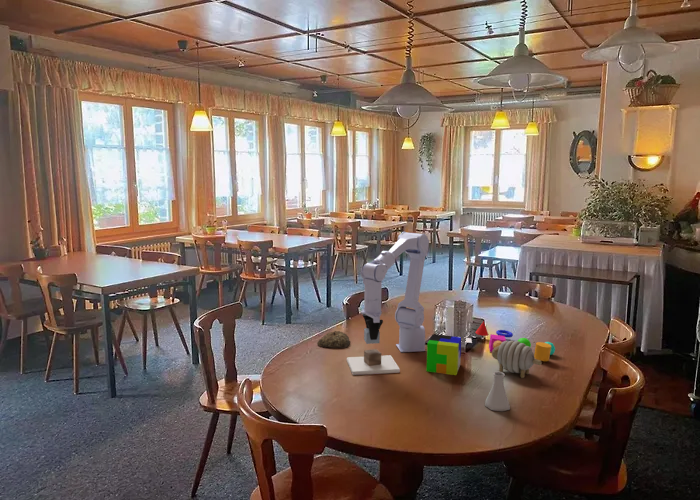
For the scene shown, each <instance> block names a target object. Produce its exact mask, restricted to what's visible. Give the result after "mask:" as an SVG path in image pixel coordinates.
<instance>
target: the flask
mask: <svg viewBox="0 0 700 500" xmlns="http://www.w3.org/2000/svg"><path fill="white" fill-rule="evenodd" d="M493 376H494V378H493V382H492V386H491V387H490V389H489V390H490V391H489V393H488V395H487V397H486V399H485V401H484V406H485V407H486V408H488V409H490V410H491V411H496V412H505V411H509V410H511V407H510V402H509V399H508V396H507V392H506V389H505V384H504V378H505V376H506V375H505V373H504V372H499V371H493Z"/></svg>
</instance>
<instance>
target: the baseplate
mask: <svg viewBox="0 0 700 500" xmlns="http://www.w3.org/2000/svg"><path fill="white" fill-rule="evenodd" d="M346 362H347V365H348V367H349V370H350V372H351V374H352V376H355V375H356V376H358V375H362V376H363V375H375V374H376V375H377V374H381V375H382V374H394V373H397V374H398V373H400V372H401V369H400V367H399V365H398V364H397V363H396V361H395V360H394V358H393V357H392V355H390V354H389V355H387V354H385V355H381V365H374V366H368V365H367V364H366V363H365V362H364V356H349V357H346Z"/></svg>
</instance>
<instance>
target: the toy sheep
mask: <svg viewBox="0 0 700 500" xmlns="http://www.w3.org/2000/svg"><path fill="white" fill-rule="evenodd" d="M491 356H492V358H493V359H495V360H497V362H498V364H499V367H498V369H499V370H498V372H502V373H504V369H505V370H506V371H507V370H508V372H510V373H511V374H512V373H515V374H520V378H521V379H524V378H525V376H526V375H529V374H530V369H531V368H532V367H533V366H534V365H537V366H541V365H542V363H543V361H540V360H537V359H535V357H534V352H533V350H532V347H531V348H530V347H529V346H526V345H525V344H524V343H520V342H519V341H518V340H515V341H514V340H508V341H507V340H506V341H504V342H502V343H501V345H499V346H497V347H495V348H494V349H493V351H492V352H491Z"/></svg>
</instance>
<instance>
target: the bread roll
mask: <svg viewBox="0 0 700 500" xmlns="http://www.w3.org/2000/svg"><path fill="white" fill-rule="evenodd" d="M350 343H351V341H350V337H349V336H348V334H347V333H345V332H343V331H340V330H334V331H333V332H332V331H329V332H327V333H326V334H324V335H323V337H321V338H319V340H318V341H317V346H318V347H323V348H332V349H337V348H338V349H345V348H347V347H349V346H350Z"/></svg>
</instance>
